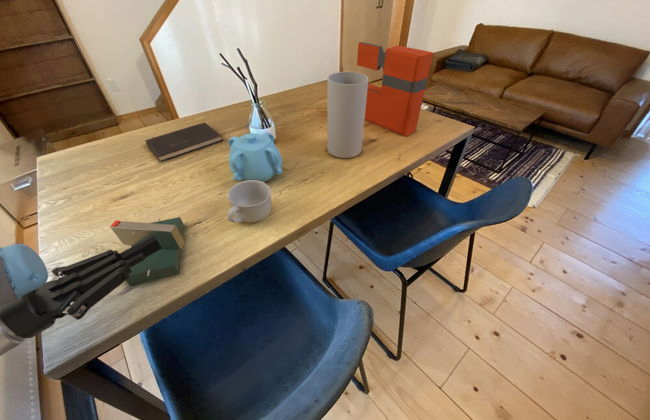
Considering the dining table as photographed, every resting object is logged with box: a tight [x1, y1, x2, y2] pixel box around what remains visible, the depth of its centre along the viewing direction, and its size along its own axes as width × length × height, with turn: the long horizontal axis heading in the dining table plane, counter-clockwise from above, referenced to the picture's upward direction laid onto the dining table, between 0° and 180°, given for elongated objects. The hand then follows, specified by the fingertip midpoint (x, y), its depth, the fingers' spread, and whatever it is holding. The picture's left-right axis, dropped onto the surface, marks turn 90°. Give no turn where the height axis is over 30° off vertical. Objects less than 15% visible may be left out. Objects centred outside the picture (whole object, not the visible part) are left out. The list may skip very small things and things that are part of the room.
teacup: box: [226, 180, 273, 224], centre depth 72 cm, size 14×11×8 cm
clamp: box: [356, 41, 434, 137], centre depth 110 cm, size 9×35×28 cm, turn 44°
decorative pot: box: [228, 132, 283, 183], centre depth 86 cm, size 16×16×14 cm
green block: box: [116, 216, 197, 286], centre depth 65 cm, size 18×18×3 cm
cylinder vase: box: [326, 71, 369, 159], centre depth 92 cm, size 12×12×25 cm
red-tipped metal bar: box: [109, 220, 186, 249], centre depth 62 cm, size 14×2×6 cm, turn 84°
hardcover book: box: [144, 122, 223, 163], centre depth 105 cm, size 16×23×2 cm
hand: (157, 242), depth 58 cm, fingers closed
